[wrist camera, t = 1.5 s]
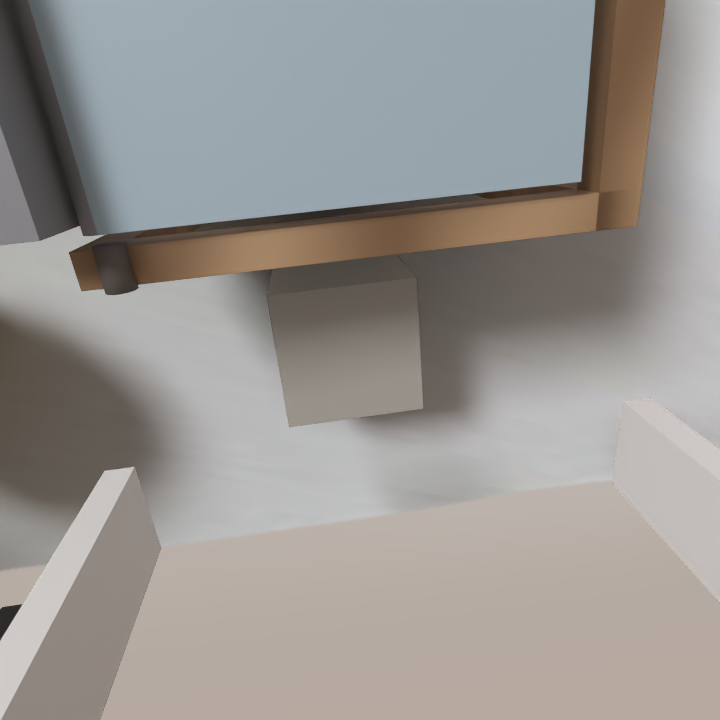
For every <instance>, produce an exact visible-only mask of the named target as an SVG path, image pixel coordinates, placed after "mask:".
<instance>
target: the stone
mask: <svg viewBox="0 0 720 720" xmlns="http://www.w3.org/2000/svg"><path fill="white" fill-rule="evenodd" d="M267 302H268V307H269V313H270V319H271V325H272V331H273V336H274V342H275V348H276V354H277V359H278V365H279V371H280V377H281V383H282V388H283V394H284V400H285V406H286V411H287V417H288V423H289V427H295V426H302V425H309V424H317V423H324V422H331V421H338V420H345V419H353V418H360V417H367V416H374V415H381V414H389V413H396V412H403V411H410V410H417V409H423V393H422V373H421V352H420V332H419V312H418V291H417V277H416V276H415V275H414V274H413V273H412V272H411V270H410V269H409V268H408V267H407V266H406V265H405V264H404V263H403V261H402V260H401V259H400V258H399V257H398V256H397V255H396V254H394V255H386V256H377V257H369V258H360V259H352V260H343V261H335V262H326V263H318V264H309V265H301V266H292V267H284V268H275V269H272V271H271V276H270V281H269V286H268V291H267Z"/></svg>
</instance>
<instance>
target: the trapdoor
mask: <svg viewBox="0 0 720 720" xmlns="http://www.w3.org/2000/svg"><path fill="white" fill-rule="evenodd" d="M594 11H595V0H0V245H6V244H15V243H24V242H34V241H41V240H43V239H46V238H49V237H51V236H54V235H56V234H59V233H62V232H64V231H67V230H69V229H72V228H75V227H77V226H80V227H81V230H82V233H83V236H95V235H104V234H113V233H122V232H131V231H140V230H149V229H158V228H168V227H177V226H186V225H195V224H204V223H213V222H222V221H231V220H240V219H249V218H258V217H267V216H276V215H285V214H294V213H303V212H312V211H321V210H330V209H339V208H348V207H357V206H366V205H375V204H384V203H393V202H402V201H411V200H421V199H430V198H439V197H448V196H457V195H466V194H475V193H484V192H493V191H502V190H511V189H520V188H529V187H538V186H547V185H556V184H565V183H574V182H581V177H582V164H583V151H584V139H585V126H586V113H587V100H588V88H589V75H590V62H591V49H592V37H593V24H594Z"/></svg>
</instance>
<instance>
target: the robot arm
mask: <svg viewBox="0 0 720 720" xmlns="http://www.w3.org/2000/svg"><path fill="white" fill-rule="evenodd" d="M612 484H613V485H614V486H615V487H616V488H617V489H618V491H619V492H620V493H621V494H622V495H623V496H624V497H625V498H626V499H627V501H628V502H629V503H630V504H631V505H632V506H633V507H634V508H635V509H636V511H637V512H638V513H639V514H640V515H641V516H642V517H643V518H644V519H645V521H646V522H647V523H648V524H649V525H650V526H651V527H652V528H653V529H654V531H655V532H656V533H657V534H658V535H659V536H660V537H661V538H662V539H663V541H664V542H665V543H666V544H667V545H668V546H669V547H670V548H671V549H672V551H673V552H674V553H675V554H676V555H677V556H678V557H679V558H680V559H681V560H682V562H683V563H684V564H685V565H686V566H687V567H688V568H689V569H690V570H691V572H693V574H694V575H695V576H696V577H697V578H698V579H699V580H700V581H701V583H702V584H703V585H704V586H705V587H706V588H707V589H708V590H709V591H710V593H711V594H712V595H713V596H714V597H715V598H716V599H717V600H718V601H719V602H720V449H719V448H717V447H716V446H715V445H713V444H712V443H710V442H709V441H708V440H706V439H705V438H704V437H702V436H701V435H700V434H698V433H697V432H696V431H694V430H693V429H692V428H690V427H689V426H687V425H686V424H685V423H683V422H682V421H681V420H679V419H678V418H677V417H675V416H674V415H673V414H671V413H670V412H668V411H667V410H666V409H664V408H663V407H662V406H660V405H659V404H658V403H656V402H655V401H654V400H652V399H651V398H646V399H638V400H631V401H623V406H622V414H621V421H620V429H619V437H618V445H617V452H616V460H615V468H614V476H613V483H612ZM160 550H161V546H160V543H159V540H158V537H157V534H156V531H155V528H154V525H153V522H152V518H151V515H150V512H149V509H148V506H147V503H146V500H145V497H144V494H143V491H142V488H141V485H140V482H139V479H138V476H137V472H136V469H135V467H129V468H122V469H115V470H107V471H104V473H103V474H102V476H101V477H100V479H99V481H98V482H97V484H96V486H95V487H94V489H93V490H92V492H91V494H90V495H89V497H88V499H87V500H86V502H85V503H84V505H83V507H82V508H81V510H80V512H79V513H78V515H77V517H76V518H75V520H74V521H73V523H72V525H71V526H70V528H69V530H68V531H67V533H66V534H65V536H64V538H63V539H62V541H61V543H60V544H59V546H58V547H57V549H56V551H55V552H54V554H53V556H52V557H51V559H50V560H49V562H48V564H47V565H46V567H45V569H44V570H43V572H42V574H41V575H40V577H39V578H38V580H37V582H36V583H35V585H34V587H33V588H32V590H31V591H30V593H29V595H28V597H27V598H26V600H25V601H24V603H23V604H21V605H15V606H7V607H2V608H1V609H0V720H100V719H101V716H102V713H103V710H104V707H105V704H106V702H107V698H108V696H109V693H110V690H111V688H112V685H113V682H114V679H115V676H116V674H117V671H118V668H119V665H120V662H121V660H122V656H123V654H124V651H125V648H126V646H127V643H128V640H129V637H130V634H131V631H132V628H133V626H134V623H135V620H136V617H137V615H138V612H139V609H140V606H141V603H142V600H143V598H144V595H145V592H146V589H147V587H148V584H149V581H150V578H151V575H152V573H153V570H154V567H155V564H156V561H157V559H158V556H159V553H160Z"/></svg>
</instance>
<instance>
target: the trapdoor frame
mask: <svg viewBox="0 0 720 720" xmlns="http://www.w3.org/2000/svg"><path fill="white" fill-rule="evenodd" d="M664 8H665V0H595V11H594V24H593V37H592V49H591V62H590V75H589V88H588V100H587V113H586V126H585V139H584V151H583V164H582V177H581V182H574V183H565V184H556V185H547V186H538V187H529V188H520V189H511V190H502V191H493V192H484V193H475V194H474V195H477V196H480V197H484V198H487V199H484V200H475V201H466V202H457V203H448V204H439V205H430V206H421V207H412V208H403V209H394V210H385V211H376V212H368V213H359V214H350V215H341V216H332V217H323V218H314V219H305V220H296V221H287V222H278V223H269V224H260V225H251V226H242V227H233V228H224V229H215V230H206V231H197V232H193V231H194V230H195V229H196V228H198V227H199V226H200V225H201V224H195V225H186V226H177V227H168V228H158V229H149V230H140V231H131V232H122V233H113V234H106V235H104V236H102V237H100V238H98V239H96V240H94V241H92V242H90V243H88V244H86V245H84V246H82V247H79V248H77V249H75V250H73V251H71V252H69V254H70V257H71V260H72V264H73V267H74V270H75V273H76V276H77V279H78V282H79V285H80V288H81V291H88V290H96V289H104V290H105V293H106V294H107V295H118V294H124V293H128V292H131V291H134V290H136V289H138V285H139V284H147V283H156V282H164V281H173V280H182V279H190V278H199V277H207V276H216V275H224V274H233V273H241V272H250V271H258V270H267V269H275V268H284V267H292V266H301V265H309V264H318V263H326V262H335V261H343V260H352V259H360V258H369V257H377V256H386V255H394V254H403V253H411V252H420V251H428V250H437V249H446V248H454V247H463V246H471V245H480V244H488V243H497V242H505V241H514V240H522V239H531V238H539V237H548V236H556V235H565V234H573V233H582V232H590V231H599V230H607V229H616V228H624V227H633V226H637V224H638V216H639V208H640V200H641V192H642V184H643V176H644V168H645V160H646V152H647V144H648V136H649V128H650V120H651V112H652V104H653V96H654V88H655V80H656V72H657V64H658V56H659V48H660V40H661V32H662V24H663V16H664Z"/></svg>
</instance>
